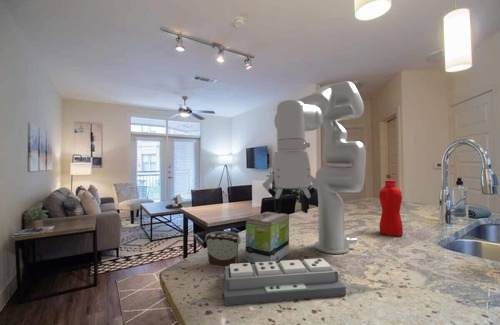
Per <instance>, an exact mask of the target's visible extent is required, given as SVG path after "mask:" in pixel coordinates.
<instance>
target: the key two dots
mask: <svg viewBox="0 0 500 325" xmlns="http://www.w3.org/2000/svg"><path fill="white" fill-rule="evenodd" d="M251 264H252V263H251V262H242V263H241V262H240V263H238V262H237V264H230V277H231V278H236V277H250V276H253V270H252V267H251Z"/></svg>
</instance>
